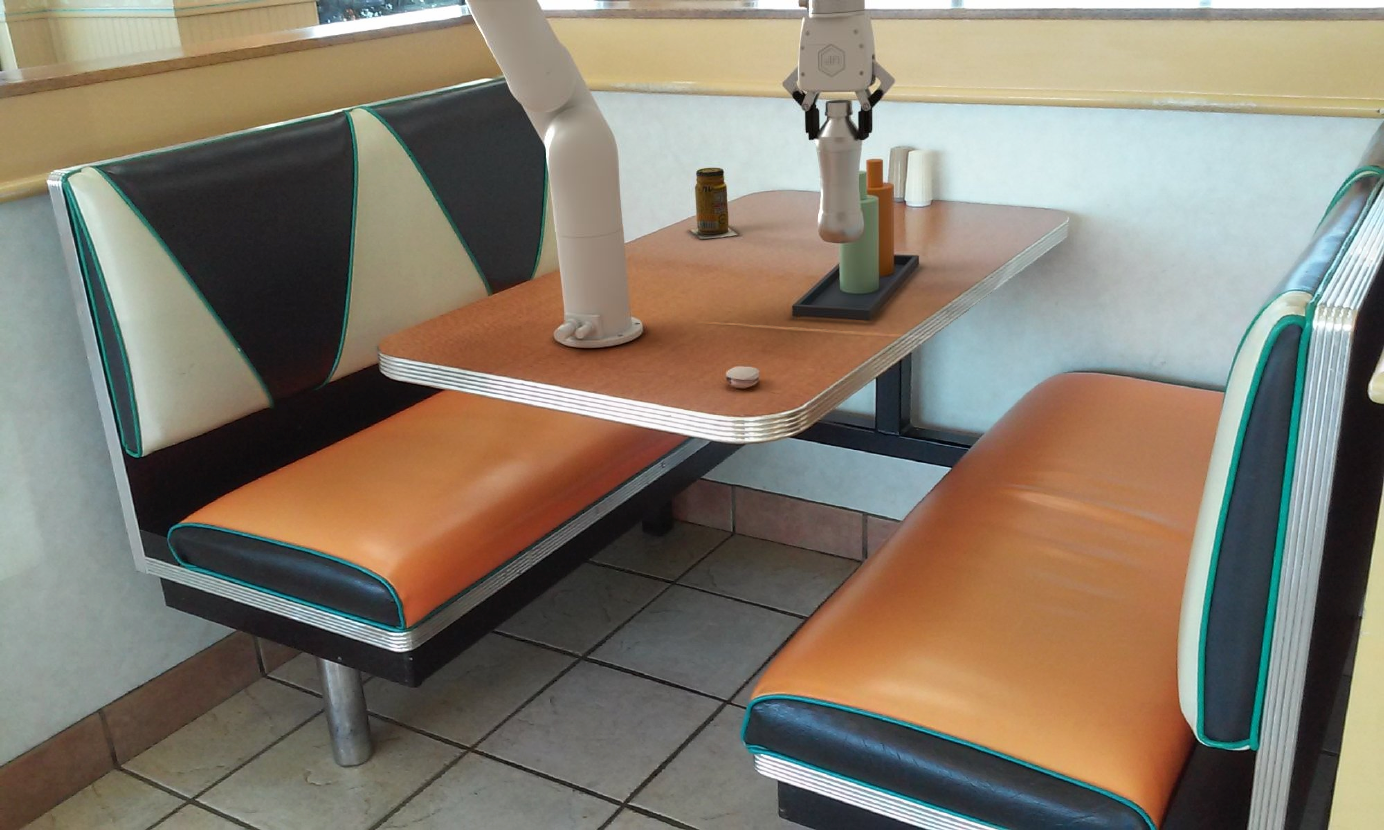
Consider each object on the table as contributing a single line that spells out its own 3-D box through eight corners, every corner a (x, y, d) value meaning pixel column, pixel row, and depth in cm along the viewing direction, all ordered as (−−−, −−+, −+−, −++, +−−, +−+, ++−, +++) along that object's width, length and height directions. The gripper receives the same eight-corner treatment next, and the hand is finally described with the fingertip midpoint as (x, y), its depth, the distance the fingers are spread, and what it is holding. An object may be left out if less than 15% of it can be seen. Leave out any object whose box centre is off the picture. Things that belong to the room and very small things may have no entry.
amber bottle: (888, 277, 186) (888, 164, 179) (852, 276, 189) (850, 163, 182) (898, 267, 191) (898, 157, 184) (862, 266, 194) (861, 156, 187)
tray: (869, 324, 167) (869, 310, 166) (792, 319, 171) (791, 305, 171) (919, 267, 193) (919, 255, 192) (850, 264, 197) (850, 252, 196)
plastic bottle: (862, 248, 167) (862, 104, 159) (815, 248, 168) (812, 105, 160) (865, 236, 172) (865, 97, 165) (819, 237, 174) (817, 99, 166)
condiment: (726, 226, 229) (723, 165, 225) (737, 235, 221) (734, 172, 217) (690, 230, 228) (686, 169, 223) (700, 240, 220) (695, 176, 216)
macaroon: (720, 387, 148) (718, 368, 147) (744, 375, 151) (743, 357, 150) (746, 394, 145) (745, 375, 144) (771, 381, 148) (770, 363, 147)
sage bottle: (873, 294, 178) (872, 176, 171) (835, 292, 181) (832, 176, 174) (883, 284, 183) (882, 168, 176) (846, 282, 186) (844, 168, 179)
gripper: (766, 9, 158) (771, 143, 165) (892, 3, 151) (892, 143, 158) (784, 5, 164) (788, 134, 171) (906, -1, 158) (906, 134, 164)
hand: (838, 137), depth 165 cm, fingers closed on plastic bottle, 6 cm apart
